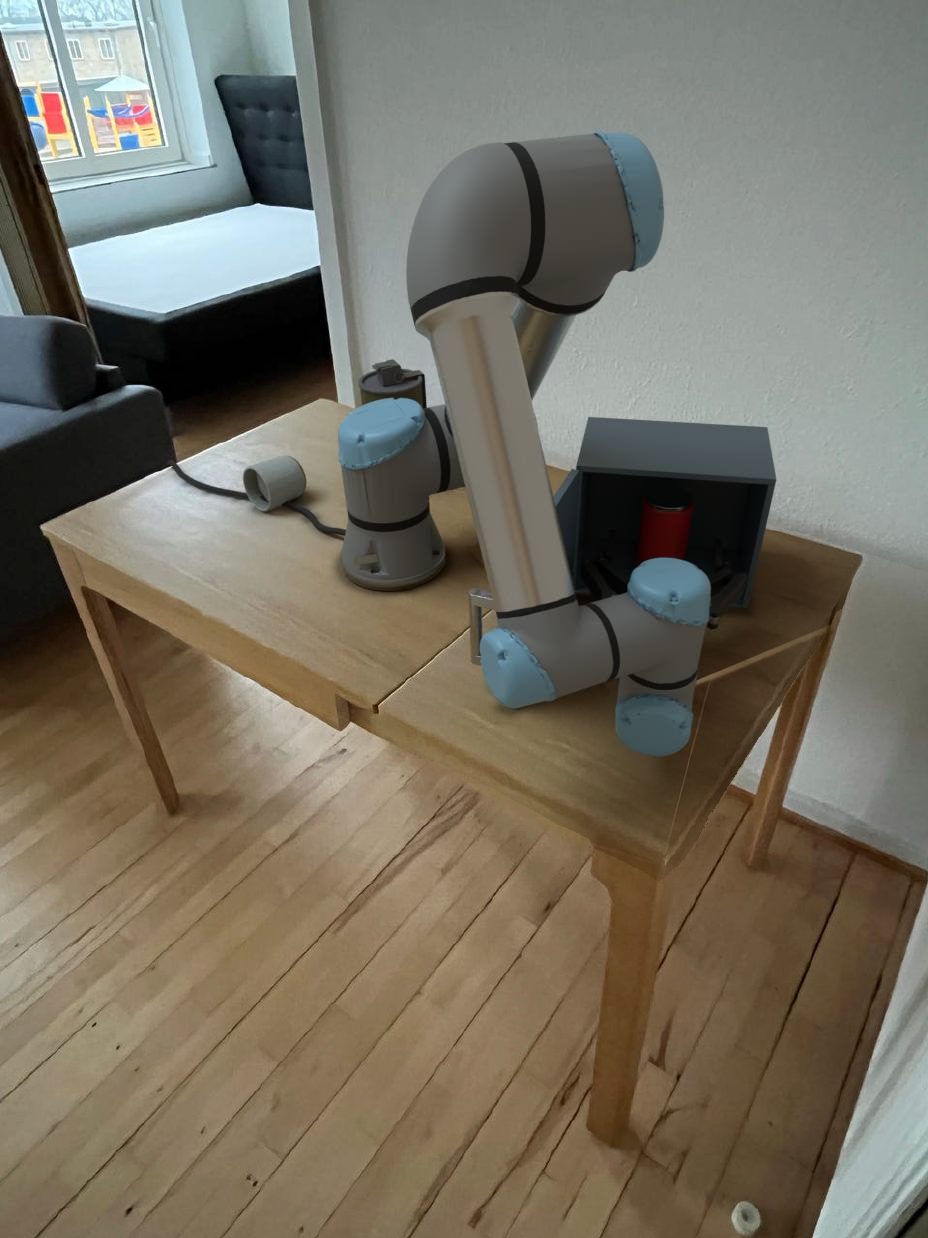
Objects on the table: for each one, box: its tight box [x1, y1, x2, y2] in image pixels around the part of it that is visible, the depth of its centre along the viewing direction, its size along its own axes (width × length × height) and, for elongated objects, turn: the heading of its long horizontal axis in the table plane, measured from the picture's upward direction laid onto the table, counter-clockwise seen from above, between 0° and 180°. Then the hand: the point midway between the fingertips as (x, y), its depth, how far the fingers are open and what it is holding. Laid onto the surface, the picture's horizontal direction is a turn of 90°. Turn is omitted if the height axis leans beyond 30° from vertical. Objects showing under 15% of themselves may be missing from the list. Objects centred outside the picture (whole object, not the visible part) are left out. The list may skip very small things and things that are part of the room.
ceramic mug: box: [242, 455, 307, 512], centre depth 135 cm, size 11×8×8 cm
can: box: [635, 486, 694, 569], centre depth 110 cm, size 7×7×12 cm
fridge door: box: [468, 468, 579, 667], centre depth 98 cm, size 6×24×19 cm, turn 157°
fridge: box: [573, 416, 777, 609], centre depth 110 cm, size 15×24×20 cm, turn 77°
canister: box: [357, 358, 428, 409], centre depth 136 cm, size 11×10×20 cm
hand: (663, 542), depth 108 cm, fingers open, 13 cm apart
